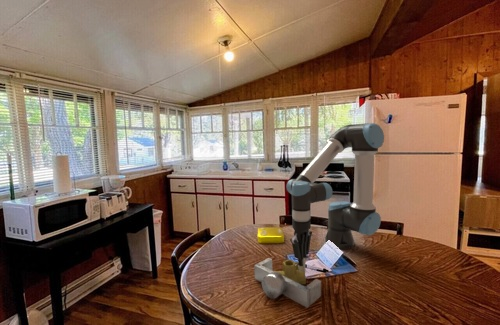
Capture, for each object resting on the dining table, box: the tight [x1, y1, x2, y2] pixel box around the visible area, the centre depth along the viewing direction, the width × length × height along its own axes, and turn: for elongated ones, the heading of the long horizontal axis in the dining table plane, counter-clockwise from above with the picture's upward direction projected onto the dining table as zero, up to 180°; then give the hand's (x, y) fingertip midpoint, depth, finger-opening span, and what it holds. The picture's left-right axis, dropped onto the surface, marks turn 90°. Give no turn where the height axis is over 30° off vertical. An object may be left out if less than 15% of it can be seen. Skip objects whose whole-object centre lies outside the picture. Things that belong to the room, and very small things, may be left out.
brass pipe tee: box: [273, 259, 307, 285], centre depth 102 cm, size 13×10×10 cm
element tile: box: [257, 226, 285, 244], centre depth 147 cm, size 15×15×5 cm
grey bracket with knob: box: [253, 257, 322, 309], centre depth 96 cm, size 14×26×8 cm, turn 43°
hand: (302, 272), depth 106 cm, fingers closed
